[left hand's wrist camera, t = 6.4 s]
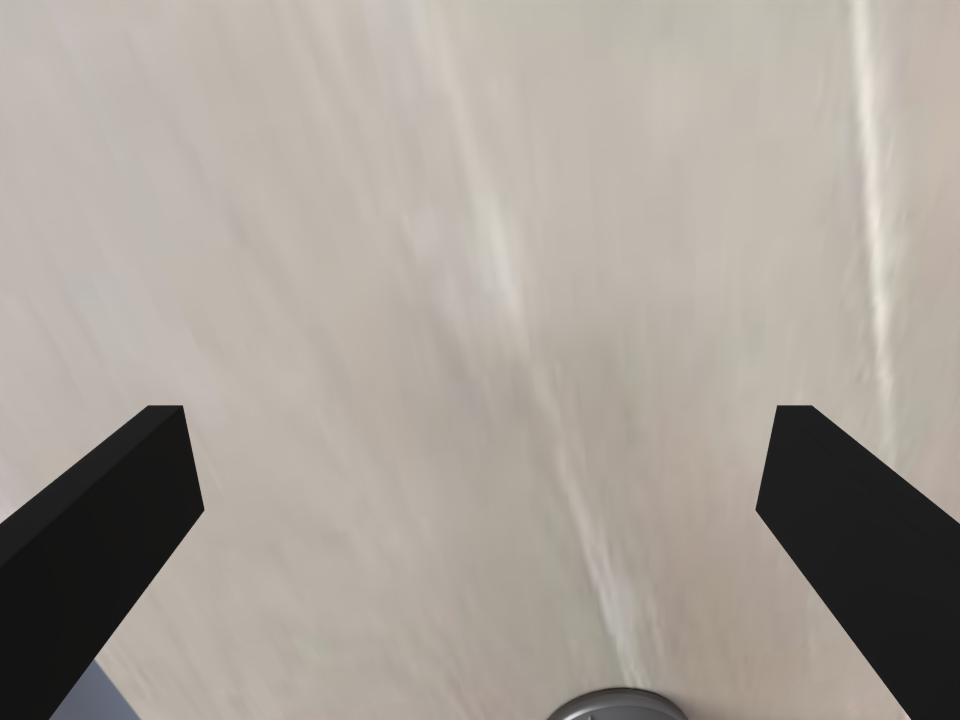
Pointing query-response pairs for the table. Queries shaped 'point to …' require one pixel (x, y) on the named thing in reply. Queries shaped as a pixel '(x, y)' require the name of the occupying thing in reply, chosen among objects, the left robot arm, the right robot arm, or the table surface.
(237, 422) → the table surface
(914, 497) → the left robot arm
